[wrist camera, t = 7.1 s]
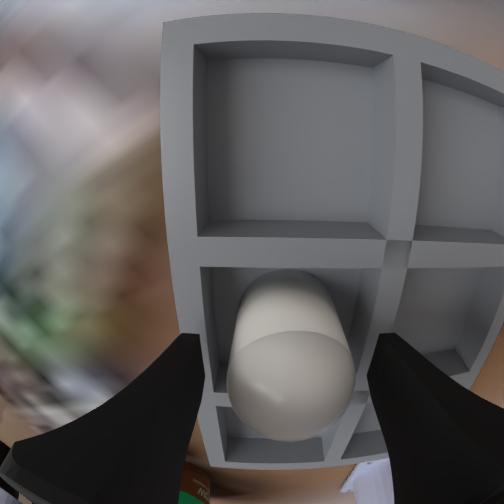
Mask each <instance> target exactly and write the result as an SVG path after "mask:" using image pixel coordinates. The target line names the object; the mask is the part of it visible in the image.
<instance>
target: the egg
mask: <svg viewBox="0 0 504 504" xmlns="http://www.w3.org/2000/svg"><path fill="white" fill-rule="evenodd" d="M355 384H356V372H355V366H354V362H353V358H352V355H351V352H350V349H349V346H348V343H347V340H346V338H345V335H344V332H343V329H342V326H341V323H340V320H339V317H338V315H337V312H336V309H335V306H334V304H333V301H332V298H331V295H330V293H329V291H328V289H327V288H326V286H325V285H324V284H323V283H322V282H321V281H320V280H319V279H318V278H316V277H315V276H313V275H311V274H309V273H307V272H304V271H301V270H295V269H280V270H274V271H271V272H268V273H265V274H263V275H261V276H260V277H258V278H256V279H255V280H254V281H252V282H251V283H250V284H249V285H248V286H247V288H246V289H245V290H244V292H243V294H242V296H241V298H240V301H239V306H238V312H237V317H236V323H235V329H234V335H233V341H232V347H231V353H230V359H229V365H228V371H227V392H228V397H229V400H230V403H231V405H232V407H233V409H234V411H235V413H236V414H237V416H238V417H239V418H240V420H241V421H242V422H243V423H244V424H245V425H246V426H247V427H249V428H250V429H251V430H253V431H254V432H256V433H257V434H259V435H261V436H264V437H266V438H269V439H272V440H277V441H285V442H295V441H302V440H306V439H310V438H312V437H315V436H317V435H320V434H322V433H323V432H325V431H327V430H328V429H329V428H331V427H332V426H333V425H334V424H336V423H337V421H338V420H339V419H340V418H341V417H342V416H343V415H344V413H345V412H346V410H347V408H348V407H349V405H350V403H351V400H352V397H353V394H354V390H355Z"/></svg>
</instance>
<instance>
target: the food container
mask: <svg viewBox="0 0 504 504" xmlns="http://www.w3.org/2000/svg"><path fill="white" fill-rule="evenodd" d="M210 487H211V480H210V478H209V476H208V475H207V474H206V473H205V472H204V471H202V470H201V469H199V468H197V467H195V466H193V465H191V464H189V463H187V462H184V467H183V473H182V480H181V487H180V494H179V502H178V504H210Z"/></svg>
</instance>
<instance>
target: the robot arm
mask: <svg viewBox="0 0 504 504" xmlns="http://www.w3.org/2000/svg"><path fill="white" fill-rule="evenodd" d="M367 380H368V386H369V391H370V396H371V400H372V403H373V406H374V409H375V412H376V415H377V419H378V422H379V425H380V428H381V431H382V434H383V437H384V440H385V443H386V447H387V451H388V455H389V458H386V459H381V460H375V461H370V462H364V463H358V464H357V465H356V467H355V468H354V470H353V471H352V473H351V475H350V476H349V478H348V479H347V480H346V482H345V483H344V485H343V486H342V488H341V489H340V490H341V492H342V493H344V492H351V491H354V498H355V504H504V409H503V408H501V407H499V406H497V405H495V404H493V403H491V402H489V401H487V400H485V399H483V398H481V397H479V396H478V395H476V394H474V393H473V392H471V391H470V390H468V389H466V388H465V387H463V386H462V385H460V384H459V383H457V382H456V381H455V380H453V379H452V378H451V377H449V376H448V375H446V374H445V373H444V372H442V371H441V370H440V369H439V368H437V367H436V366H435V365H434V364H432V363H431V362H430V361H429V360H428V359H426V358H425V357H424V356H423V355H422V354H420V353H419V352H418V351H417V350H416V349H414V348H413V347H412V346H411V345H410V344H409V343H407V342H406V341H405V340H404V339H402V338H401V337H400V336H399V335H397V334H396V333H395V332H393V333H380V334H379V336H378V340H377V343H376V346H375V350H374V353H373V356H372V360H371V363H370V366H369V369H368V372H367ZM204 382H205V370H204V363H203V356H202V349H201V342H200V334H193V333H181V334H180V335H179V336H178V337H177V338H176V339H175V340H174V341H173V342H172V344H171V345H170V346H169V347H168V348H167V349H166V350H165V351H164V352H163V353H162V354H161V355H160V356H159V357H158V358H157V359H156V360H155V361H154V362H153V363H152V364H151V365H150V366H149V367H148V368H147V369H146V370H145V371H144V372H143V373H141V374H140V375H139V376H138V377H137V378H136V379H135V380H133V381H132V382H131V383H130V384H129V385H128V386H126V387H125V388H124V389H123V390H121V391H120V392H119V393H118V394H116V395H115V396H114V397H112V398H111V399H109V400H108V401H107V402H105V403H104V404H102V405H101V406H99V407H97V408H96V409H94V410H92V411H90V412H89V413H87V414H85V415H83V416H82V417H80V418H78V419H76V420H74V421H72V422H70V423H68V424H66V425H64V426H62V427H59V428H57V429H54V430H52V431H49V432H47V433H44V434H41V435H38V436H35V437H31V438H28V439H24V440H21V441H17V442H15V443H14V444H13V446H12V448H11V449H10V451H9V453H8V454H7V456H6V458H5V460H4V461H3V463H2V465H1V467H0V477H1V478H2V479H3V480H4V481H6V482H7V483H8V484H9V485H10V486H11V487H13V488H14V489H15V490H16V491H18V492H19V493H20V494H22V495H23V496H25V497H26V498H27V499H28V500H30V501H31V502H32V504H178V502H179V494H180V487H181V480H182V473H183V467H184V461H185V457H186V453H187V449H188V446H189V442H190V439H191V435H192V432H193V429H194V425H195V422H196V418H197V415H198V412H199V408H200V405H201V401H202V395H203V389H204ZM0 504H22V503H21V502H20V501H18V500H17V499H15V498H14V497H13V496H11V495H10V494H9V493H7V492H6V491H5V490H3V489H2V488H0Z"/></svg>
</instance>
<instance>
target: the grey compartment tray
mask: <svg viewBox="0 0 504 504" xmlns="http://www.w3.org/2000/svg"><path fill="white" fill-rule="evenodd" d="M160 129H161V160H162V179H163V195H164V208H165V220H166V231H167V241H168V250H169V259H170V267H171V275H172V283H173V290H174V297H175V304H176V311H177V317H178V323H179V329H180V334H181V333H193V334H200V342H201V349H202V356H203V363H204V370H205V382H204V389H203V395H202V401H201V405H200V408H199V412H198V415H197V418H198V422H199V426H200V430H201V434H202V437H203V441H204V445H205V449H206V452H207V456H208V460H209V463H210V466H211V467H222V468H235V469H256V470H289V469H310V468H323V467H334V466H342V465H350V464H357V463H364V462H370V461H375V460H381V459H386V458H389V455H388V451H387V447H386V443H385V440H384V437H383V434H382V431H381V428H380V425H379V422H378V419H377V415H376V412H375V409H374V406H373V403H372V400H371V396H370V391H369V386H368V380H367V372H368V369H369V366H370V363H371V360H372V356H373V353H374V350H375V346H376V343H377V340H378V336H379V334H380V333H393V332H395V333H396V334H397V335H399V336H400V337H401V338H402V339H404V340H405V341H406V342H407V343H409V344H410V345H411V346H412V347H413V348H414V349H416V350H417V351H418V352H419V353H420V354H422V355H423V356H424V357H425V358H426V359H428V360H429V361H430V362H431V363H432V364H434V365H435V366H436V367H437V368H439V369H440V370H441V371H442V372H444V373H445V374H446V375H448V376H449V377H451V378H452V379H453V380H455V381H456V382H457V383H459V384H460V385H462V386H463V387H465V388H466V389H468V390H470V388H471V386H472V385H473V383H474V381H475V380H476V378H477V376H478V374H479V372H480V371H481V369H482V367H483V365H484V363H485V361H486V359H487V357H488V355H489V353H490V351H491V349H492V347H493V345H494V343H495V341H496V339H497V336H498V334H499V332H500V330H501V327H502V325H503V322H504V72H503V71H501V70H500V69H498V68H496V67H494V66H492V65H490V64H488V63H486V62H484V61H481V60H479V59H477V58H475V57H473V56H470V55H468V54H466V53H463V52H461V51H459V50H456V49H454V48H451V47H448V46H446V45H443V44H440V43H438V42H435V41H432V40H429V39H426V38H423V37H419V36H416V35H413V34H409V33H406V32H402V31H399V30H395V29H391V28H387V27H382V26H378V25H373V24H368V23H363V22H358V21H352V20H346V19H339V18H332V17H323V16H314V15H301V14H283V13H244V14H225V15H213V16H203V17H195V18H187V19H180V20H174V21H168V22H163V32H162V50H161V79H160ZM280 269H295V270H301V271H304V272H307V273H309V274H311V275H313V276H315V277H316V278H318V279H319V280H320V281H321V282H322V283H323V284H324V285H325V286H326V288H327V289H328V291H329V293H330V295H331V298H332V301H333V304H334V306H335V309H336V312H337V315H338V317H339V320H340V323H341V326H342V329H343V332H344V335H345V338H346V340H347V343H348V346H349V349H350V352H351V355H352V358H353V362H354V366H355V372H356V384H355V390H354V394H353V397H352V400H351V403H350V405H349V407H348V408H347V410H346V412H345V413H344V415H343V416H342V417H341V418H340V419H339V420H338V421H337V423H336V424H334V425H333V426H332V427H331V428H329V429H328V430H327V431H325V432H323V433H322V434H320V435H317V436H315V437H312V438H310V439H306V440H302V441H295V442H285V441H277V440H272V439H269V438H266V437H264V436H261V435H259V434H257V433H256V432H254V431H253V430H251V429H250V428H249V427H247V426H246V425H245V424H244V423H243V422H242V421H241V420H240V418H239V417H238V416H237V414H236V413H235V411H234V409H233V407H232V405H231V403H230V400H229V397H228V392H227V371H228V365H229V359H230V353H231V347H232V341H233V335H234V329H235V323H236V317H237V312H238V306H239V301H240V298H241V296H242V294H243V292H244V290H245V289H246V288H247V286H248V285H249V284H250V283H251V282H252V281H254V280H255V279H256V278H258V277H260V276H261V275H263V274H265V273H268V272H271V271H274V270H280Z"/></svg>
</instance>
